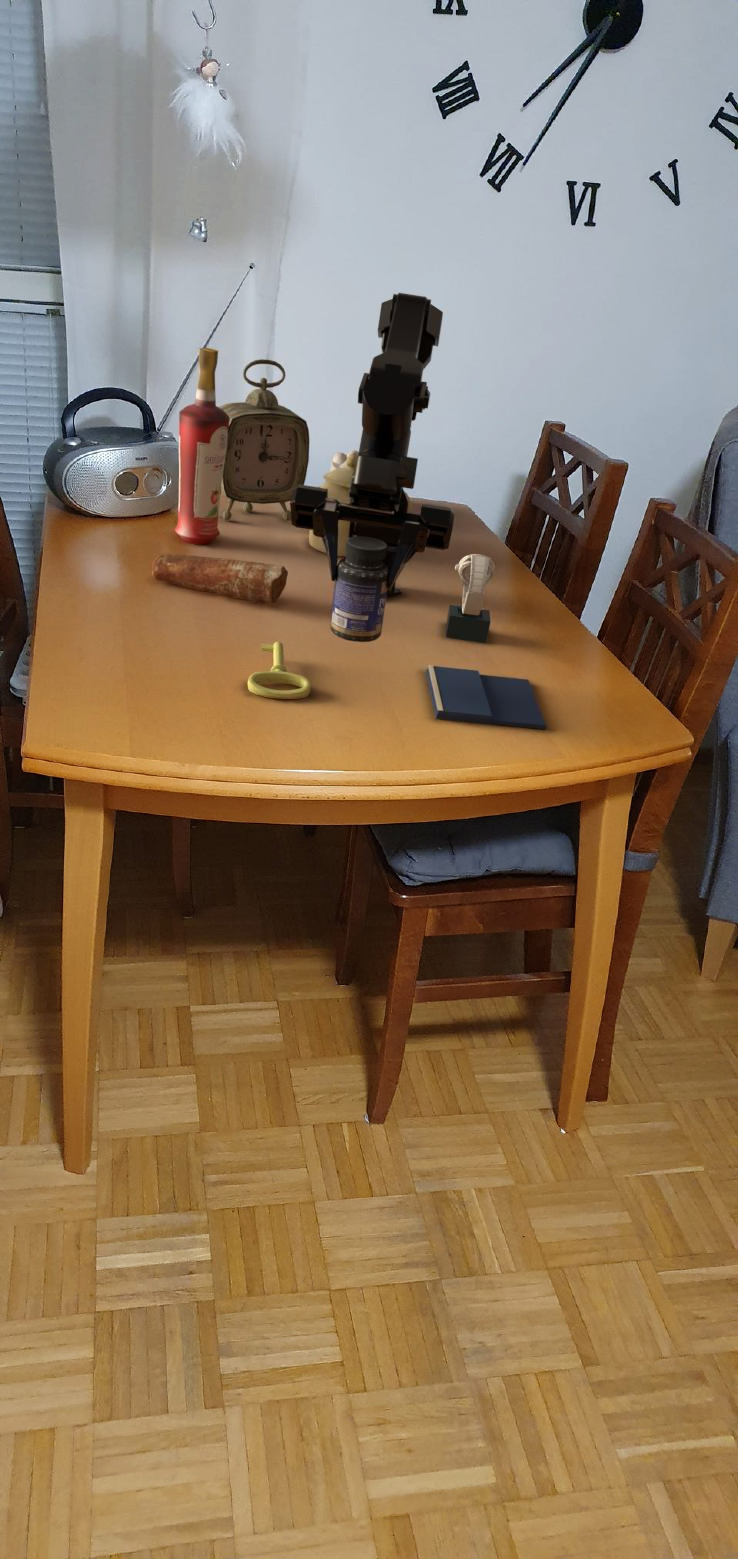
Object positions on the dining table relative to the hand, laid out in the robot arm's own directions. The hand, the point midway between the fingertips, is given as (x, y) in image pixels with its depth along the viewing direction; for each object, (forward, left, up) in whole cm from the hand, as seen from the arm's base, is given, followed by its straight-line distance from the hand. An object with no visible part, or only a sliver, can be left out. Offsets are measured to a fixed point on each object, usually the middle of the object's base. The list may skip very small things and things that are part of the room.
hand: (360, 584), depth 136 cm
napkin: (-13, +10, -13) cm, 21 cm away
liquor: (-15, -52, -13) cm, 56 cm away
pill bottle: (-1, -1, -7) cm, 7 cm away
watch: (-27, -6, -13) cm, 31 cm away
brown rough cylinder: (-4, -32, -13) cm, 35 cm away
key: (+6, -6, -13) cm, 16 cm away
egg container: (-53, -57, -6) cm, 78 cm away
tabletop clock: (-31, -59, -13) cm, 68 cm away
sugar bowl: (-37, -40, -13) cm, 56 cm away
